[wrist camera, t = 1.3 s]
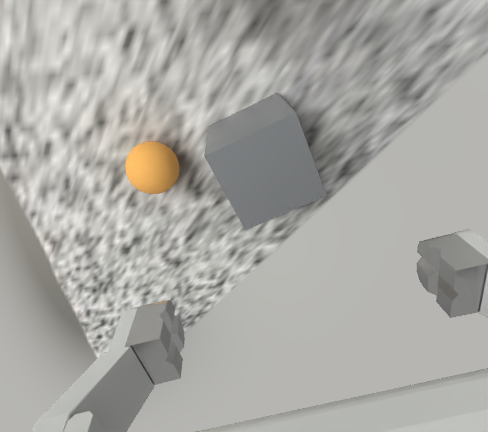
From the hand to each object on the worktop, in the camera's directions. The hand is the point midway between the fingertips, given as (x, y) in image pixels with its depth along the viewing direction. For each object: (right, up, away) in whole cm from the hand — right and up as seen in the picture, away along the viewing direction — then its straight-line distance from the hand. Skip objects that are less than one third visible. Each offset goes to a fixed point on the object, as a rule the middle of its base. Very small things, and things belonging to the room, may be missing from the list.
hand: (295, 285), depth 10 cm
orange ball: (-10, +7, +20) cm, 24 cm away
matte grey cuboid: (0, +10, +22) cm, 24 cm away
